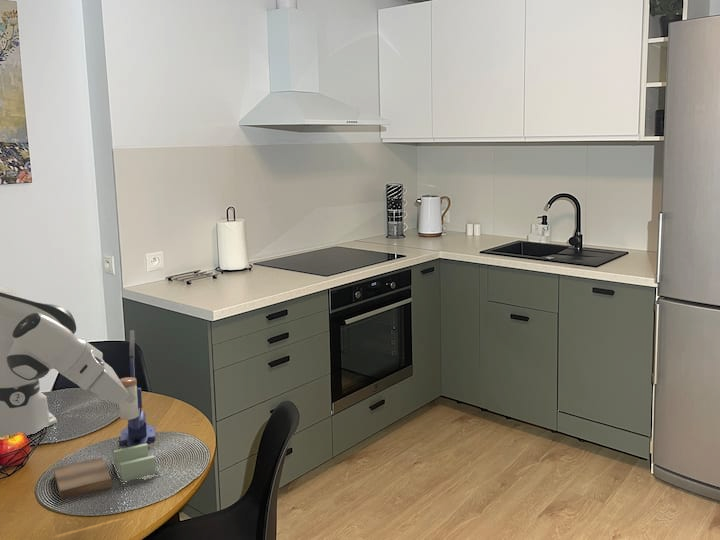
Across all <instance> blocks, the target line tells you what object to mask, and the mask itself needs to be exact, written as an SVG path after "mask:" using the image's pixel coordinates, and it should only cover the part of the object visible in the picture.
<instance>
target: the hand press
mask: <svg viewBox="0 0 720 540" xmlns="http://www.w3.org/2000/svg"><path fill="white" fill-rule="evenodd" d="M135 335H136V334H135V330H129V373H130V375H129V376H130V377H133V378H136V375H135V340H136V339H135ZM142 393H143V391H142V387H137V399H138V413H139V416H138V417H137V418H134V419H131V420H127V426H126V427H125V428H123V430H121V432H120V445H121V446H124V445H127V447H132V446H136V445H141V444H145V443H147V445H148V446H149V445H151V442H154V441H156V429H155V427H154V426H153V425H152V424H149V423H147V414H146V412H145V411H143V410H142V408H143V396H142ZM148 441H149V442H148ZM123 444H124V445H123Z"/></svg>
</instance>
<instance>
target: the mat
mask: <svg viewBox="0 0 720 540" xmlns="http://www.w3.org/2000/svg"><path fill="white" fill-rule="evenodd" d="M156 470H157V474H155V475H158V476H154V477H152V478H151V479H149V478H148V479H146V480H144V479H142V478H141V479H139V478H138V479H133V480H129V481H127V482H121V481H122V480H121V479H120V478H119V479H118V481H119V483H120V486H121V487H122V488H123V487H126V486H131V485H135V484H137V483H138V484H139V483H142V482H145V481H146V482H147V481H150V480H154V479H159V478H161V477H162V476H161V474H160V473H159V471H158V469H157V468H156ZM120 480H121V481H120ZM123 483H125V484H123Z"/></svg>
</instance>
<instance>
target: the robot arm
mask: <svg viewBox="0 0 720 540" xmlns="http://www.w3.org/2000/svg"><path fill="white" fill-rule="evenodd" d="M76 332H77V324H76V320H75V318H74V316H73V314H72V313H71V312H70V311H69V310H68V309H67V308H65V307H63V306H59V305H55V304H51V303H43V302H37V301H34V300H29V299H26V298H25V297H23V296H22V295H20V294H18V293H17V292H15V291H13V290H10V289H9V288H5V287H2V286H0V437H3V436H6V435H10V434H14V433H18V432H22V433H25V434H26V435H30V434H35V433H37V432H38V431H40V430H41V429H43V428H44V427H47V428H48V427H50V426H52V425H55V424H56V423H58V420H57V418H56V417H55V416H54V415H53V414H52V413H51V412H50V411H49V406H48V399H47V395H45V394H44V393H42V392H41V391H40V385H41V384H40V379H41V378H45V376H47V374H49V372H50V371H51V370H56V371H57V373H59V374H60V375H62V376H63V377H65V378H66V379H68V380H69V381H71V382H72V383H74V384H75V385H77V386H78V387H79V388H81V389H82V390H84V391H87V390H90V391H91V392H92V393H94V394H95V395H97V396H100V397H101V398H102V399H105V400H106V401H108V402H110V403H112V404H114V405H115V404H116V405H119V404H120V403H121V401H122V400H126V401H127V402H129V403H133V402H134V401H135V399H136V398H135V396H134V395H133V394H131V393H130V392H128V391H127V390H126V389H125V387H124V385H123V384H122V382H121V381H120V379H121V378H119V376H118V375H117V373H116V372H115V370H114V369H113V367H111V366H110V365H109V364H108V363H107V362H105V360H104V357H103V356H104V355H103V352H102V351H100V350H99V349H97V347H95V346H94V345H92V344H90V343H89V342H87V341H86V340H85V339H82V338H79V337H77V335H75V333H76ZM37 434H38V433H37ZM35 435H36V434H35Z"/></svg>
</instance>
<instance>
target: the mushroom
mask: <svg viewBox="0 0 720 540" xmlns="http://www.w3.org/2000/svg"><path fill="white" fill-rule="evenodd" d="M119 379H120V381H121V382H122V384H123V385H124V387H125V389H126V390H127V391H128V392H130V393H131V394H133V395H134V396H135V398H136V399H135V401H134V402H133V403H129V402H127V401H126V400H122V401H121V403H120V404H118V406H119V408H118V409H119V417H120V418H119V419H120V420H124V421H128V420H131V419H134V418H137V417H138V416H139V413H138V399H137V388H138V386H137V384H138V382H137V380H138V379H137V378H136V377H135V378H133V377H129V376H128V377H127V376H125V377H121V378H119Z"/></svg>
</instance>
